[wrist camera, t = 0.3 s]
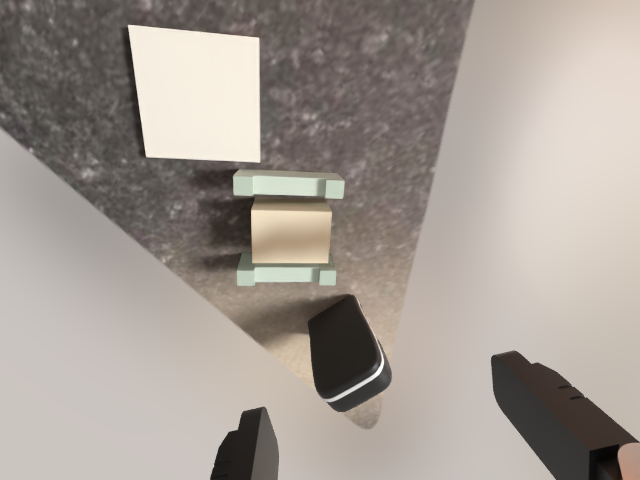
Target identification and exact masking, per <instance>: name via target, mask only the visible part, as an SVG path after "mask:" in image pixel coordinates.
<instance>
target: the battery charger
mask: <svg viewBox="0 0 640 480" xmlns="http://www.w3.org/2000/svg"><path fill="white" fill-rule="evenodd" d="M308 329H309V335H310V348H311V362H312V370H313V377H314V383H315V387H316V390H317V392H318V395H319V396H320V397H321V398H322V399H323V400H324V401H326V402H327V403H328V404H329V405H330V406H331V407H332V408H333V409H334V410H335V411H338V412H346V411H348V410H350V409H352V408H354V407H356V406H358V405H360V404H362V403H363V402H365V401H367V400H369V399H370V398H372V397H374V396H375V395H377V394H379V393H381V392H382V391H384V390H385V389H386V388H387V387H388V386H389V385H390V382H391V379H392V378H391V377H392V373H391V368H390V365H389V363H388V360H387V358H386V355H385V353H384V351H383V348H382V346H381V344H380V342H379V341H378V339H377V338H376V336H375V334H374V332H373V330H372V328H371V326H370V324H369V323H368V321H367V319H366V317H365V315H364V312H363V310H362V307H361V305H360V303H359V300H358V299H357V298H356V297H355V296H354V295H351V296H349V297H347V298H346V299H344V300H342V301H341V302H339V303H337V304H336V305H334V306H332V307H330V308H329V309H327V310H326V311H324V312H322V313H321V314H319V315H318V316H316V317H314V318H313V319H311V320H310V321H308Z"/></svg>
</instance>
